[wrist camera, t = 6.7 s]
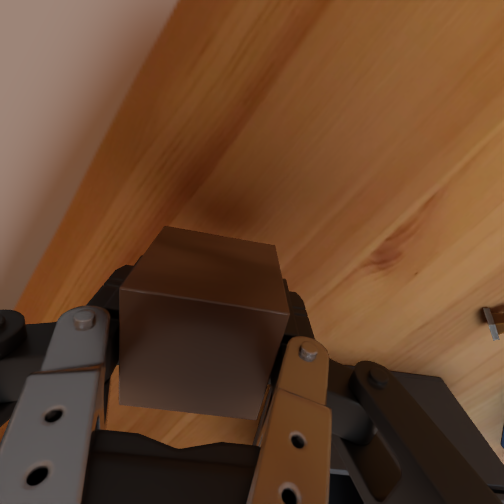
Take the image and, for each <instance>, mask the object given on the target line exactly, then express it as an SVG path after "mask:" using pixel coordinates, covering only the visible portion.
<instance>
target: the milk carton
mask: <svg viewBox="0 0 504 504" xmlns="http://www.w3.org/2000/svg"><path fill="white" fill-rule="evenodd" d="M501 446H502V447H503V448H504V428H503V434H502V441H501Z"/></svg>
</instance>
